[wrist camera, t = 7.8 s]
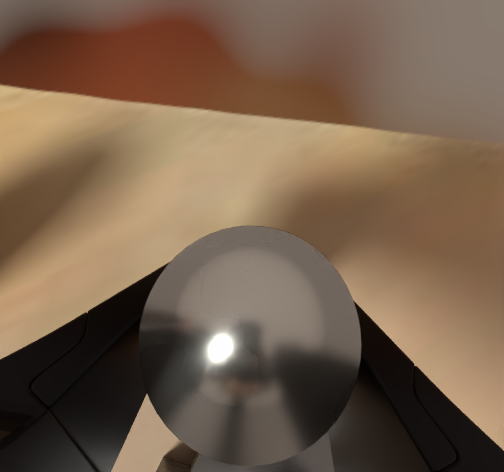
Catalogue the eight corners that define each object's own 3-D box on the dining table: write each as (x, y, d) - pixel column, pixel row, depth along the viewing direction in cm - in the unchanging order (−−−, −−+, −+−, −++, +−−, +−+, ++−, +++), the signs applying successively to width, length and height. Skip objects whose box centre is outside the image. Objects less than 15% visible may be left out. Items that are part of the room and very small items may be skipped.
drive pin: (295, 322, 14) (407, 397, 4) (228, 354, 14) (182, 522, 4) (265, 256, 15) (301, 193, 5) (201, 284, 14) (107, 273, 5)
